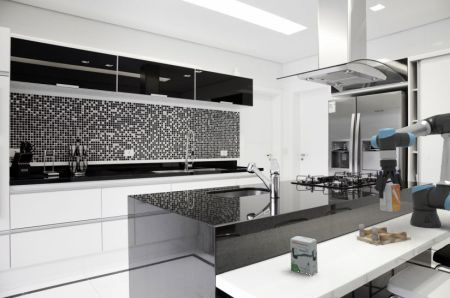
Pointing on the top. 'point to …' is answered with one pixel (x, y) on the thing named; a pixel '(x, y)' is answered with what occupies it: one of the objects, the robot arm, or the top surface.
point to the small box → (392, 198)
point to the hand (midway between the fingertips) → (390, 204)
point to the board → (380, 235)
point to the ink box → (304, 254)
